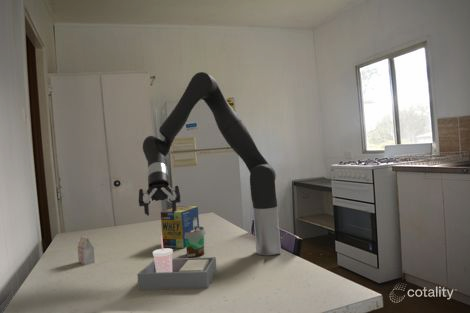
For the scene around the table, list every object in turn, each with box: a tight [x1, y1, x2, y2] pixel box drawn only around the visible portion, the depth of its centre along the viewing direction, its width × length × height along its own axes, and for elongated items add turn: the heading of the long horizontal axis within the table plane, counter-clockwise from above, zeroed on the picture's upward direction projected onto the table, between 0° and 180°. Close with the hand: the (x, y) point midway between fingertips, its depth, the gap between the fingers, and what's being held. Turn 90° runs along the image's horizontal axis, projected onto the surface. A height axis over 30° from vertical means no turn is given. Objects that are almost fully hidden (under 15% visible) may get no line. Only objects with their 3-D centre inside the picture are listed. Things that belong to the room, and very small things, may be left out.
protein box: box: [160, 205, 200, 249], centre depth 154 cm, size 10×15×16 cm
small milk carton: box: [77, 235, 96, 266], centre depth 136 cm, size 4×7×10 cm, turn 43°
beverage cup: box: [152, 234, 174, 273], centre depth 107 cm, size 6×6×14 cm
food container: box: [185, 225, 207, 258], centre depth 135 cm, size 12×6×10 cm, turn 168°
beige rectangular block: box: [179, 259, 209, 272], centre depth 105 cm, size 7×10×4 cm
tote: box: [136, 256, 218, 291], centre depth 106 cm, size 21×14×6 cm, turn 82°
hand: (160, 212), depth 118 cm, fingers open, 8 cm apart
